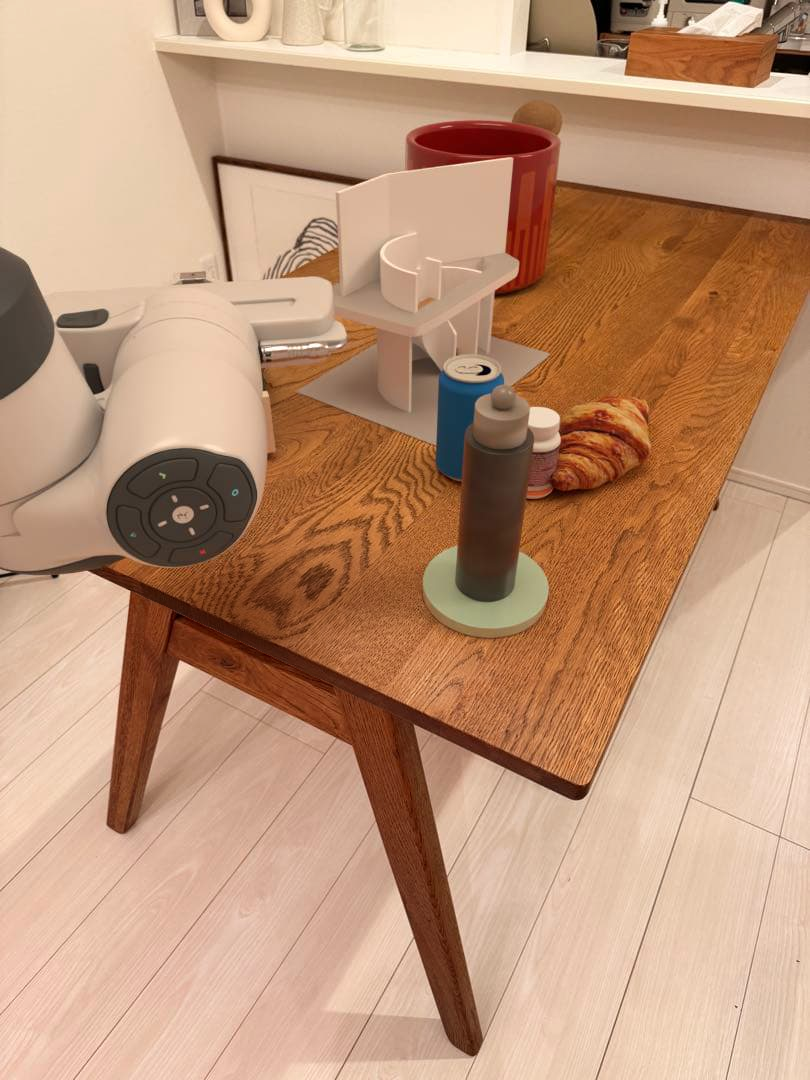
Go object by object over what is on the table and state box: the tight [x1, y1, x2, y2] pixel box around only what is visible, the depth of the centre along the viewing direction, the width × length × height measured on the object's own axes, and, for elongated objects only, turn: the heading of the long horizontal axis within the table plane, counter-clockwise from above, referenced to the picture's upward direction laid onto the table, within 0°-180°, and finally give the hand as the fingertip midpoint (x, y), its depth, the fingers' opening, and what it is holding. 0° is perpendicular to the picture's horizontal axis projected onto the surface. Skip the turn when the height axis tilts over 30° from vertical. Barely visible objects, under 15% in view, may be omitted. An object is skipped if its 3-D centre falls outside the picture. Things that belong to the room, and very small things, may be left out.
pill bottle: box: [526, 406, 561, 500], centre depth 77 cm, size 5×5×8 cm
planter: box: [404, 119, 562, 296], centre depth 119 cm, size 23×23×20 cm
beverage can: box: [435, 354, 504, 483], centre depth 78 cm, size 6×6×12 cm
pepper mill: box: [455, 385, 534, 602], centre depth 61 cm, size 5×5×19 cm
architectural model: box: [295, 157, 552, 447], centre depth 91 cm, size 28×21×23 cm
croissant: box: [550, 394, 652, 492], centre depth 82 cm, size 21×10×8 cm, turn 144°
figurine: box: [511, 99, 563, 136], centre depth 141 cm, size 9×7×20 cm
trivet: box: [421, 545, 550, 639], centre depth 67 cm, size 11×11×1 cm
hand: (195, 281), depth 59 cm, fingers closed
